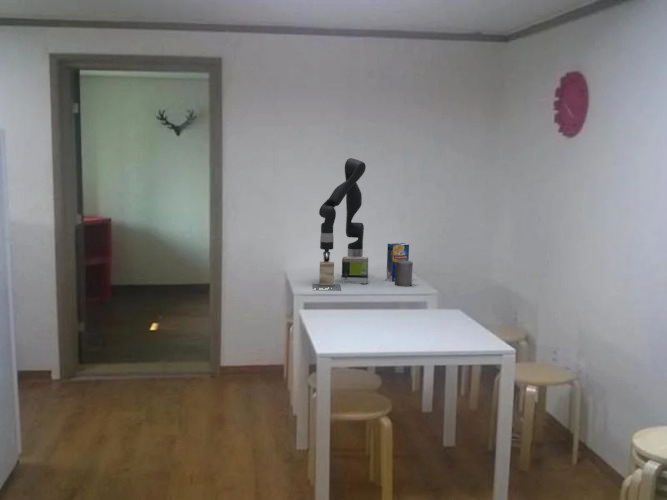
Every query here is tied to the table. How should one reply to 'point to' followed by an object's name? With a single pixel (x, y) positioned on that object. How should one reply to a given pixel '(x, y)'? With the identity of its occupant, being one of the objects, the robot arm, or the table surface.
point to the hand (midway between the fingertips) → (326, 270)
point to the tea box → (355, 270)
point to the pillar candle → (403, 273)
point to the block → (326, 274)
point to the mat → (334, 288)
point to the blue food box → (395, 258)
